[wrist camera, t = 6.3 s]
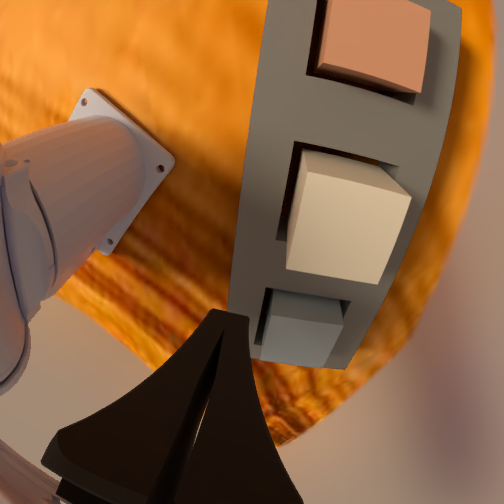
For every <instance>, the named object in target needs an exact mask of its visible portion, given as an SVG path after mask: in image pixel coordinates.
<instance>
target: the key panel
mask: <svg viewBox="0 0 504 504" xmlns="http://www.w3.org/2000/svg"><path fill="white" fill-rule="evenodd" d="M323 1H326V0H323ZM408 1H410V2H413V3H415V4H417V5H419V6H422V7H424V8H426V9H428V10H430V11H431V16H430V29H429V39H428V48H427V56H426V64H425V71H424V77H423V83H422V89H421V93H411V92H394V96H393V98H390V97H387V96H384V95H381V94H378V93H375V92H371V91H368V90H365V89H361V88H358V87H354V86H350V85H347V84H343V83H339V82H335V81H330V80H326V79H322V78H317V77H312V76H307V75H306V69H307V63H308V56H309V50H310V44H311V37H312V31H313V24H314V18H315V11H316V4H317V0H268V6H267V12H266V18H265V25H264V31H263V37H262V44H261V50H260V57H259V63H258V70H257V77H256V83H255V90H254V97H253V104H252V111H251V118H250V125H249V133H248V140H247V147H246V155H245V162H244V170H243V178H242V186H241V193H240V201H239V210H238V218H237V226H236V234H235V243H234V251H233V260H232V269H231V277H230V286H229V295H228V305H227V312H231V313H236V314H240V315H245V316H248V317H249V318H250V322H249V348H250V357H251V358H256V359H260V354H261V347H262V339H263V331H264V324H265V316H266V315H260V312H261V308H262V303H263V298H264V293H265V289H266V287H268V288H274V289H280V290H286V291H292V292H298V293H304V294H310V295H316V296H322V297H328V298H335V299H339V300H340V306H341V312H342V318H343V324H344V326H343V328H342V330H341V332H340V335H339V337H338V339H337V341H336V343H335V345H334V347H333V348H332V350H331V352H330V354H329V356H328V358H327V360H326V362H325V364H324V366H323V368H331V369H341V370H345V369H346V367H347V366H348V364H349V362H350V361H351V359H352V357H353V356H354V354H355V352H356V351H357V349H358V347H359V345H360V344H361V342H362V340H363V338H364V337H365V335H366V333H367V331H368V330H369V328H370V326H371V324H372V322H373V320H374V318H375V317H376V315H377V313H378V311H379V309H380V307H381V305H382V303H383V301H384V299H385V297H386V295H387V293H388V291H389V289H390V287H391V285H392V283H393V280H394V278H395V276H396V274H397V272H398V270H399V267H400V265H401V263H402V261H403V258H404V256H405V254H406V251H407V249H408V246H409V244H410V242H411V239H412V237H413V234H414V232H415V229H416V226H417V224H418V221H419V218H420V216H421V213H422V210H423V207H424V205H425V202H426V199H427V196H428V193H429V190H430V187H431V184H432V180H433V177H434V174H435V171H436V167H437V164H438V160H439V157H440V153H441V149H442V145H443V141H444V137H445V133H446V129H447V125H448V120H449V116H450V111H451V106H452V100H453V95H454V89H455V83H456V76H457V68H458V60H459V51H460V39H461V21H462V9H461V8H460V7H458V6H456V5H454V4H453V3H451V2H449V1H447V0H408ZM294 141H299V142H304V143H309V144H314V145H319V146H323V147H328V148H332V149H337V150H341V151H345V152H349V153H353V154H357V155H361V156H364V157H368V158H372V159H375V160H379V162H378V166H379V167H380V168H381V169H383V170H384V171H385V172H386V173H387V174H388V175H389V176H390V177H391V178H392V179H393V180H394V181H396V182H397V183H398V184H399V185H400V186H401V187H402V188H403V189H404V190H405V191H406V192H407V193H408V194H409V195H410V196H411V197H412V198H411V201H410V204H409V207H408V210H407V213H406V215H405V218H404V221H403V224H402V227H401V229H400V232H399V234H398V237H397V240H396V242H395V245H394V247H393V250H392V252H391V255H390V257H389V260H388V262H387V264H386V267H385V269H384V271H383V274H382V276H381V278H380V280H379V283H378V285H377V284H371V283H365V282H359V281H353V280H347V279H341V278H335V277H329V276H323V275H318V274H312V273H306V272H300V271H295V270H289V269H286V253H287V223H288V217H283V216H280V214H281V209H282V204H283V198H284V193H285V188H286V183H287V177H288V172H289V166H290V161H291V156H292V150H293V145H294Z"/></svg>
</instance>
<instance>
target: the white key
mask: <svg viewBox="0 0 504 504" xmlns="http://www.w3.org/2000/svg"><path fill="white" fill-rule="evenodd" d="M411 198H412V197H411V196H410V195H409V194H408V193H407V192H406V191H405V190H404V189H403V188H402V187H401V186H400V185H399V184H398V183H397V182H396V181H394V180H393V179H392V178H391V177H390V176H389V175H388V174H387V173H386V172H385V171H384V170H383V169H381V168H380V167H379V166H375V165H372V164H368V163H364V162H360V161H356V160H352V159H348V158H344V157H340V156H336V155H331V154H327V153H323V152H318V151H313V150H308V149H303V148H302V152H301V157H300V163H299V168H298V173H297V178H296V183H295V188H294V193H293V198H292V203H291V208H290V212H289V217H288V223H287V253H286V269H289V270H295V271H300V272H306V273H312V274H318V275H323V276H329V277H335V278H341V279H347V280H353V281H359V282H365V283H371V284H377V285H378V283H379V280H380V278H381V276H382V274H383V271H384V269H385V267H386V264H387V262H388V260H389V257H390V255H391V252H392V250H393V247H394V245H395V242H396V240H397V237H398V234H399V232H400V229H401V227H402V224H403V221H404V218H405V215H406V213H407V210H408V207H409V204H410V201H411Z"/></svg>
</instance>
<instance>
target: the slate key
mask: <svg viewBox="0 0 504 504" xmlns="http://www.w3.org/2000/svg"><path fill="white" fill-rule="evenodd" d="M343 326H344V324H343V318H342V312H341V306H340V300H339V299H335V298H328V297H322V296H316V295H310V294H304V293H298V292H292V291H286V290H280V289H274V288H271V292H270V297H269V301H268V305H267V310H266V316H265V324H264V331H263V339H262V347H261V354H260V360H263V361H269V362H276V363H283V364H290V365H297V366H305V367H314V368H323V366H324V364H325V362H326V360H327V358H328V356H329V354H330V352H331V350H332V348H333V347H334V345H335V343H336V341H337V339H338V337H339V335H340V332H341V330H342V328H343Z"/></svg>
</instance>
